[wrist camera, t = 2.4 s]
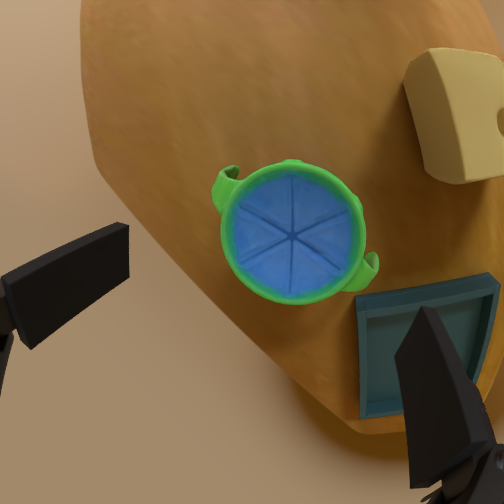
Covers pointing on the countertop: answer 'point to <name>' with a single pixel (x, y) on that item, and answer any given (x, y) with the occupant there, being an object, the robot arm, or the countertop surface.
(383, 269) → the countertop surface
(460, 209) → the countertop surface
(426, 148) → the cheese
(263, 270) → the snack cup
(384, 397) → the tray
